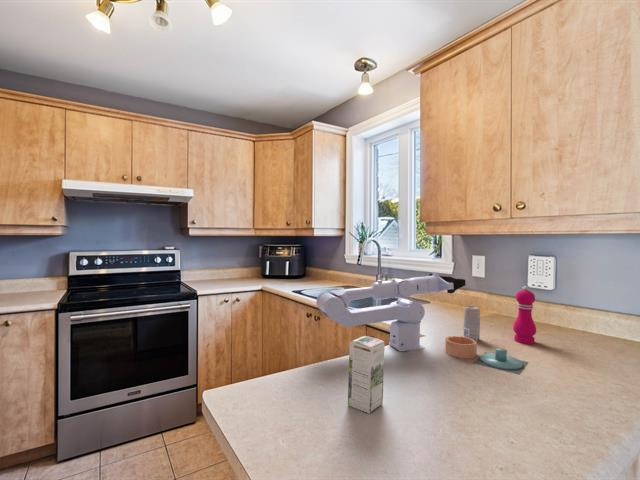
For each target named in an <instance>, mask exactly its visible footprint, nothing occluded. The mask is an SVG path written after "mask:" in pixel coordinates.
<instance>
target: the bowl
mask: <svg viewBox="0 0 640 480" xmlns="http://www.w3.org/2000/svg"><path fill="white" fill-rule="evenodd" d="M477 348H478V341H475V340H473V339H471V338H467V337H463V336H460V335H450V336H449V335H448V336H446V337H445V340H444V351H445V353H446V354H447V355H449V356H451V357H455V358H459V359H473V358H476V357H477V355H478V349H477Z"/></svg>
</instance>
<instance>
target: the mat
mask: <svg viewBox="0 0 640 480" xmlns="http://www.w3.org/2000/svg"><path fill="white" fill-rule="evenodd" d="M487 353H488V352H485V351H484V353H483V354H487ZM519 360H520V361H521V362H522V368H521V369H517V370H506V369H499V368H495V367H491V366H489V365H486V364H484V363H483V362H482V361H481V360H480V356H479V357H478V358H477V359H476V360H474V361H473V362H472V363H473V364H475V365H480V366H484V367H488V368H492V369H496V370H498V371H499V370H500V371H503V372H507V373H511V374H515V375H520V374H521V373H522V371H523V370H524V369H525V368H526V367H527V365H528V364H529V361H526V360H521V359H519Z"/></svg>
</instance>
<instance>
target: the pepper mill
mask: <svg viewBox="0 0 640 480" xmlns="http://www.w3.org/2000/svg"><path fill="white" fill-rule="evenodd" d="M515 301H517V304H516V308H517V309H518V314H517V316H516V319H515V321H514V323H513V325H512V326H513V327H512V329H513V332H514V333H515V334H514V337H513V339H514V341H515V342H517V343H519V344H525V345H533V344H535V339H536V338H535V337H534V335H536V334H537V326H536V324H535V322H534V320H533V315H532V311H533V309H534V303H535V301H536V296H535V294H534V293H533V292H532V291H531V290H529V286H527V285H524V286H523V287H522V290H519V291H518V292H516V293H515Z"/></svg>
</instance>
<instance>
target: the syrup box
mask: <svg viewBox="0 0 640 480" xmlns="http://www.w3.org/2000/svg"><path fill="white" fill-rule="evenodd" d="M348 355H349V357H348V385H347V386H348V389H347V393H348V394H347V405H348V406H349V407H351V408H352V409H356V410H358V411H361V412H363V411H364V413H366V412H367V414H369V413H370V414H371V413H373V412H374V411H375V410H377V409H378V408H379V407H380V406H382V405H383V403H384V402H383V401H384V400H383V399H384V374H385V373H384V371H385V370H384V369H385V340H381V339H379V338H376V337H373V336H367V335H363V336H360V337H358V338H356V339H353V340H351V341H349V354H348Z"/></svg>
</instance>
